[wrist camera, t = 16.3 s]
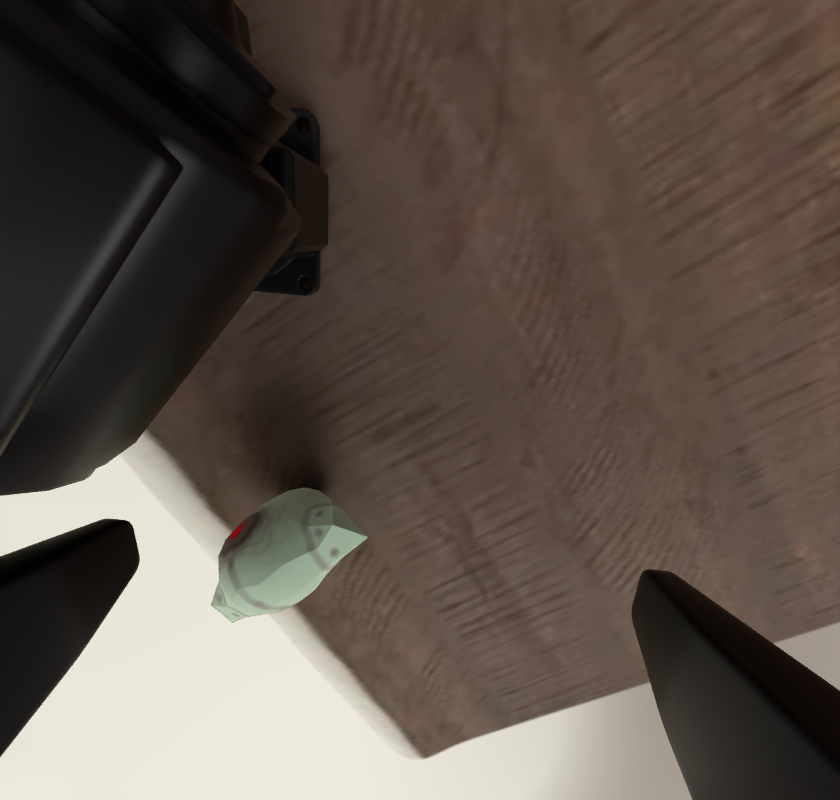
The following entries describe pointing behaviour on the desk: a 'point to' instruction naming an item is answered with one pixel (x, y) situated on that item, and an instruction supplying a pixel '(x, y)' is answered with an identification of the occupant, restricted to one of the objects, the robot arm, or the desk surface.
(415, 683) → the desk surface
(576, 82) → the desk surface
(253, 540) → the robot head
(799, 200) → the desk surface
